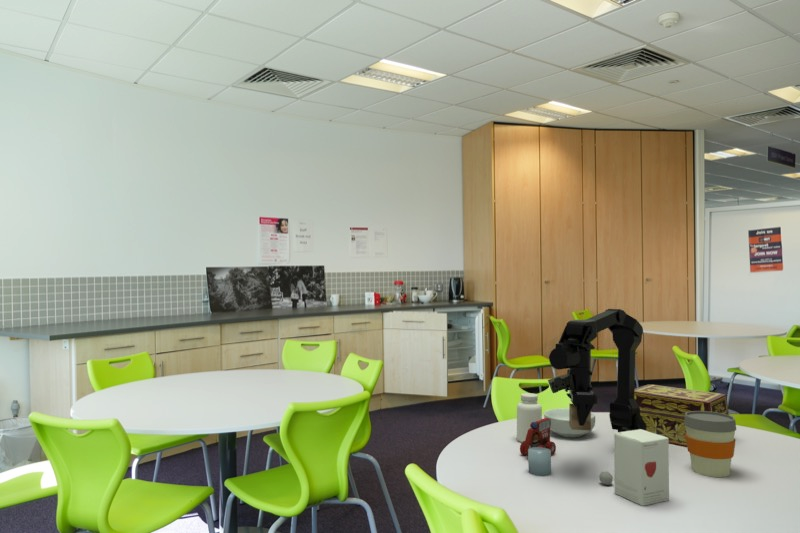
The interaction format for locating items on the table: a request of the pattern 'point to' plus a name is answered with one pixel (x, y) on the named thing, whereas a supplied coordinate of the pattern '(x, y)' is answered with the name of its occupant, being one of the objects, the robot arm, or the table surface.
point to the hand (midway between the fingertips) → (580, 423)
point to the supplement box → (641, 466)
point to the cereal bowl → (565, 422)
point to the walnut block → (574, 419)
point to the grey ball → (606, 478)
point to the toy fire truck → (538, 437)
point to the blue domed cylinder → (539, 461)
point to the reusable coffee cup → (710, 442)
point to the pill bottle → (527, 414)
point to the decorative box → (674, 409)
